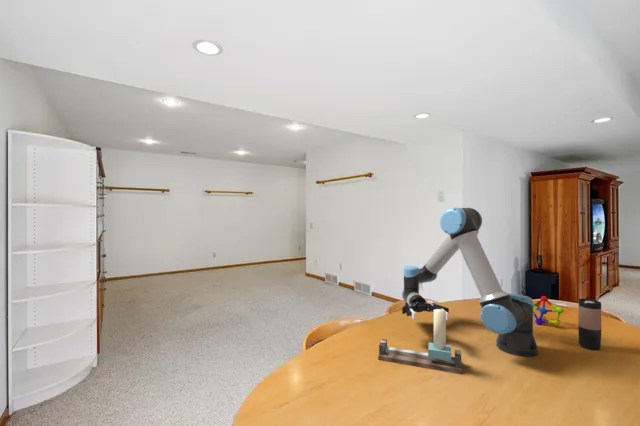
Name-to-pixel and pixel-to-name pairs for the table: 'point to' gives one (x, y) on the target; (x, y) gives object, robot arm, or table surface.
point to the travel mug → (589, 324)
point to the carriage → (439, 338)
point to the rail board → (419, 358)
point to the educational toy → (544, 311)
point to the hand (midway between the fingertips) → (431, 316)
